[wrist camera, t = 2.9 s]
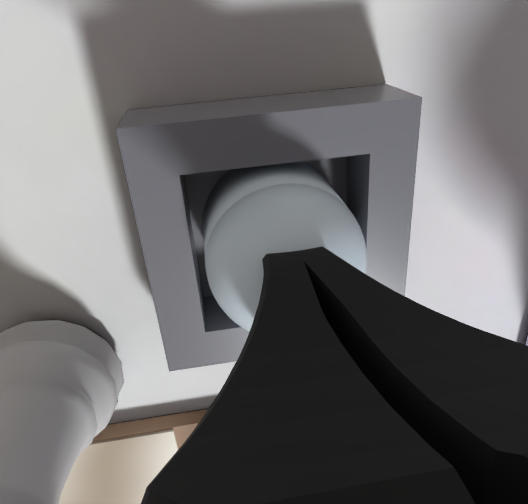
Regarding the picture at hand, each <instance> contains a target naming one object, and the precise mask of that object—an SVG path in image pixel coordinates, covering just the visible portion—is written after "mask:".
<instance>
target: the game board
mask: <svg viewBox="0 0 528 504" xmlns="http://www.w3.org/2000/svg"><path fill="white" fill-rule="evenodd" d="M207 410H208V409H204V410H198V411H192V412H186V413H179V414H173V415H167V416H160V417H154V418H148V419H141V420H135V421H129V422H122V423H116V424H110V425H107V426H106V428H105V429H103V430H102V431H101V432H100V433H99V434H98V435H97V436H95V437H94V438H93V441H92V443H91V444H90V445H89V446H88V447H86V448H85V449H84V450H83V451H82V452H81V453H80V454H79V456H78V457H77V459H76V460H75V462H74V465H73V467H72V469H71V472H70V474H69V476H68V479H67V481H66V483H65V486H64V488H63V490H62V493H61V497H60V500H59V504H141V502H142V499H143V496H144V493H145V491H146V488H147V486H148V485H149V484H150V483H151V481H152V480H153V479H154V478H155V477H156V476H157V474H158V473H159V472H160V471H161V470H162V468H163V467H164V466H165V465H166V464H167V462H168V461H169V460H170V459H171V458H172V457H173V455H174V454H175V453H176V452H177V451H178V449H179V448H180V447H181V446H182V445H183V443H184V442H185V441H186V440H187V438H188V437H189V436H190V434H191V433H192V432H193V431H194V429H195V428H196V426H197V425H198V423H199V422H200V420H201V419H202V417H203V416H204V415H205V413H206V412H207Z"/></svg>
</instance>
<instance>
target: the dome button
mask: <svg viewBox="0 0 528 504" xmlns="http://www.w3.org/2000/svg"><path fill="white" fill-rule="evenodd" d="M203 234H204V252H205V268H206V274H207V279H208V283H209V286H210V289H211V291H212V293H213V295H214V298H215V299H216V301H217V303H218V304H219V306H220V307H221V308H222V310H223V311H224V312H225V313H226V314H227V316H228V317H229V318H230V319H232V320H233V321H234V322H235V323H236V324H238V325H239V326H241V327H242V328H244V329H245V330H247V331H249V332H250V329H251V326H252V323H253V320H254V317H255V314H256V310H257V307H258V304H259V300H260V295H261V289H262V284H263V276H264V270H263V262H262V259H263V258H264V256H265V255H266V254H268V253H282V252H291V251H299V250H305V249H311V248H316V247H321V246H323V247H324V248H326V249H328V250H329V251H331V252H332V253H334V254H335V255H337V256H338V257H340V258H341V259H343V260H344V261H346V262H347V263H349V264H351V265H352V266H354V267H355V268H357V269H358V270H360V271H361V272H363V273H365V274H366V268H367V250H366V245H365V240H364V237H363V234H362V231H361V228H360V226H359V224H358V222H357V220H356V218H355V217H354V215H353V214H352V212H351V211H350V210H349V208H348V207H347V206H346V204H345V203H344V202H343V201H342V199H341V198H340V197H339V196H338V194H337V193H336V192H335V191H334V189H333V188H332V187H331V186H330V184H329V183H328V182H327V181H326V179H325V178H324V177H323V176H322V175H321V174H320V173H319V172H318V171H317V170H316V169H314V168H313V167H312V166H310V165H309V164H307V163H305V162H303V161H301V162H292V163H283V164H274V165H266V166H257V167H248V168H239V169H231V170H230V171H228V172H227V173H226V174H225V175H224V176H223V177H222V178H221V179H220V180H219V181H218V182H217V184H216V185H215V186H214V188H213V189H212V191H211V193H210V195H209V197H208V199H207V202H206V204H205V209H204V213H203Z"/></svg>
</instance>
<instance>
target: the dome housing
mask: <svg viewBox="0 0 528 504" xmlns="http://www.w3.org/2000/svg"><path fill="white" fill-rule="evenodd" d="M421 104H422V97H420V96H417V95H414V94H412V93H409V92H406V91H404V90H401V89H398V88H396V87H393V86H390V85H388V84H383V85H373V86H363V87H353V88H343V89H333V90H323V91H313V92H303V93H292V94H282V95H272V96H262V97H252V98H242V99H232V100H222V101H212V102H202V103H191V104H181V105H171V106H161V107H151V108H141V109H131V110H127V112H126V113H125V115H124V116H123V118H122V119H121V121H120V122H119V124H118V126H117V127H116V134H117V138H118V143H119V147H120V152H121V156H122V161H123V165H124V170H125V174H126V179H127V183H128V188H129V192H130V197H131V201H132V206H133V210H134V215H135V219H136V224H137V228H138V233H139V237H140V242H141V246H142V251H143V255H144V260H145V264H146V269H147V273H148V278H149V282H150V287H151V291H152V296H153V300H154V305H155V309H156V314H157V318H158V323H159V327H160V332H161V336H162V341H163V345H164V350H165V354H166V359H167V363H168V368H169V371H174V370H181V369H187V368H194V367H201V366H207V365H214V364H221V363H227V362H234V361H237V360H238V358H239V355H240V353H241V351H242V349H243V347H244V344H245V342H246V340H247V337H248V334H249V331H247V330H245V329H244V328H242V327H241V326H239V325H238V324H236V323H235V322H234V321H233V320H232V319H230V318H229V317H228V316H227V314H226V313H225V312H224V311H223V310H222V308H221V307H220V306H219V304H218V303H217V301H216V299H215V298H214V295H213V293H212V291H211V289H210V286H209V283H208V279H207V274H206V268H205V252H204V234H203V213H204V209H205V204H206V202H207V199H208V197H209V195H210V193H211V191H212V189H213V188H214V186H215V185H216V184H217V182H218V181H219V180H220V179H221V178H222V177H223V176H224V175H225V174H226V173H227V172H228V171H230V170H231V169H239V168H248V167H257V166H266V165H274V164H283V163H292V162H301V161H303V162H305V163H307V164H309V165H310V166H312V167H313V168H314V169H316V170H317V171H318V172H319V173H320V174H321V175H322V176H323V177H324V178H325V179H326V181H327V182H328V183H329V184H330V186H331V187H332V188H333V189H334V191H335V192H336V193H337V194H338V196H339V197H340V198H341V199H342V201H343V202H344V203H345V204H346V206H347V207H348V208H349V210H350V211H351V212H352V214H353V215H354V217H355V218H356V220H357V222H358V224H359V226H360V228H361V231H362V234H363V237H364V240H365V245H366V250H367V268H366V275H368V276H370V277H371V278H373V279H375V280H376V281H378V282H380V283H381V284H383V285H385V286H387V287H388V288H390V289H392V290H394V291H395V292H397V293H399V294H401V295H403V296H405V286H406V275H407V264H408V252H409V241H410V229H411V218H412V206H413V195H414V184H415V172H416V161H417V149H418V138H419V127H420V115H421Z"/></svg>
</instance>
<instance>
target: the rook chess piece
mask: <svg viewBox="0 0 528 504" xmlns="http://www.w3.org/2000/svg"><path fill="white" fill-rule="evenodd" d="M123 383H124V378H123V371H122V363H121V360H120V359H119V358H118V356H117V355H116V353H115V352H114V351H113V349H112V348H111V346H110V345H109V343H108V342H107V341H105V340H104V339H103V338H101V337H100V336H98V335H97V334H95V333H93V332H92V331H90V330H89V329H87V328H86V327H84V326H81V325H77V324H74V323H70V322H66V321H62V320H47V321H30V322H24V323H22V324H19V325H17V326H14V327H12V328H9V329H7V330H4V331H2V332H0V504H59V500H60V497H61V493H62V490H63V488H64V486H65V483H66V481H67V479H68V476H69V474H70V472H71V469H72V467H73V465H74V462H75V460H76V459H77V457H78V456H79V454H80V453H81V452H82V451H83V450H84V449H85V448H86V447H88V446H89V445H90V444H91V443H92V441H93V438H94V437H95V436H97V435H98V434H99V433H100V432H101V431H102V430H103V429H105V428H106V426H107V424H108V423H109V421H110V419H111V417H112V415H113V412H114V410H115V407H116V405H117V402H118V395H119V393H120V390H121V388H122V385H123Z"/></svg>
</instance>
